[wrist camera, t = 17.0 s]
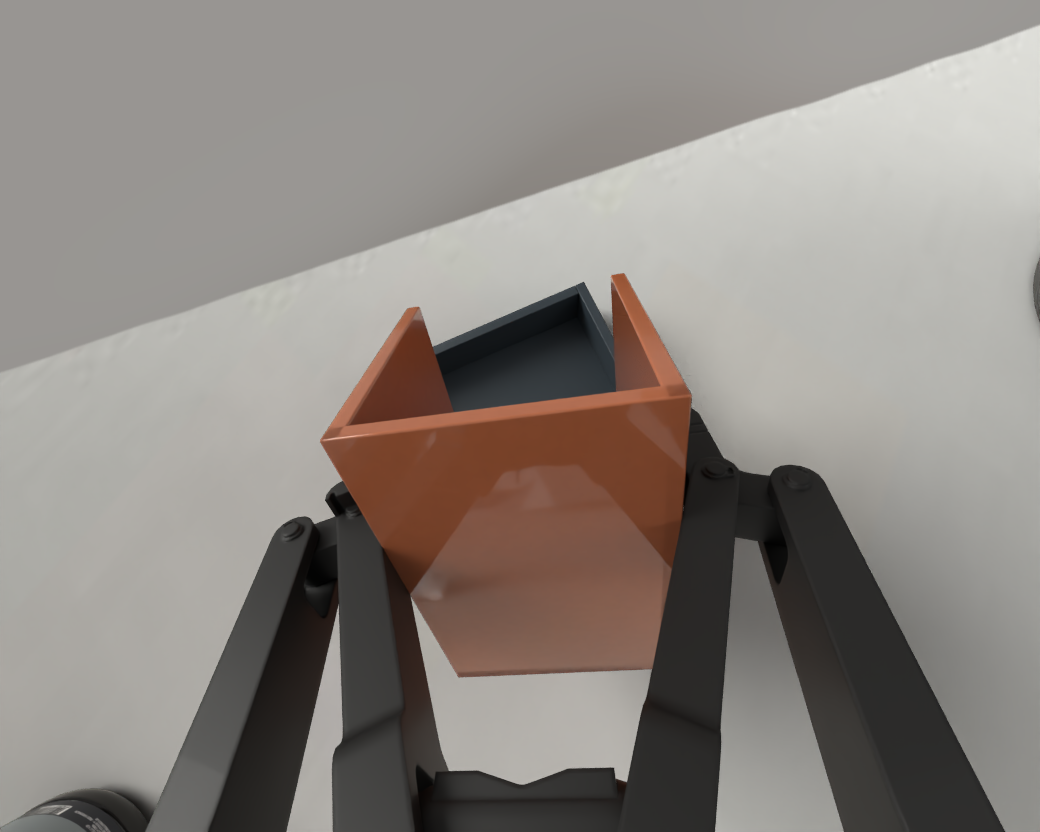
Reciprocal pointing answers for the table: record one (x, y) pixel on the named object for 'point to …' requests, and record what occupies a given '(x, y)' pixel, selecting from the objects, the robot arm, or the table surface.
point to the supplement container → (81, 814)
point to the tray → (531, 355)
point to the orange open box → (525, 503)
